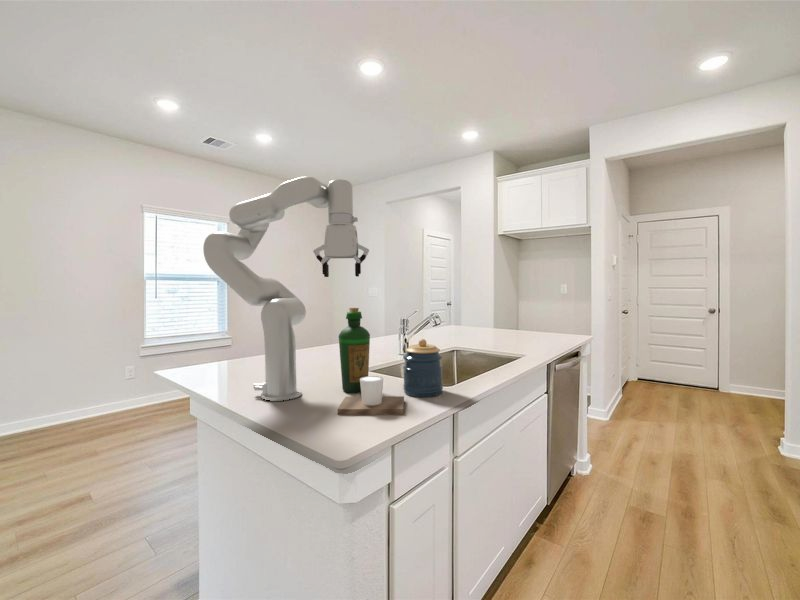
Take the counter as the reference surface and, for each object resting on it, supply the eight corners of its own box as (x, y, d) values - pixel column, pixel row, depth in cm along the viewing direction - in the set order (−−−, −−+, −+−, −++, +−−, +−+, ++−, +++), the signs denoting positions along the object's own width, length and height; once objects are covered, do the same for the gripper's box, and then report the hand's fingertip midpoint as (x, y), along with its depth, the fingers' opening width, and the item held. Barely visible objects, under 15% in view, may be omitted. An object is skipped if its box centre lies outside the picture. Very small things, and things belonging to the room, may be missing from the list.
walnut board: (337, 414, 102) (337, 409, 102) (345, 401, 114) (345, 396, 114) (403, 414, 101) (403, 409, 101) (404, 401, 113) (404, 396, 113)
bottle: (364, 395, 120) (362, 308, 119) (334, 393, 123) (332, 308, 122) (375, 386, 130) (374, 307, 129) (347, 385, 133) (346, 307, 132)
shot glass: (385, 399, 110) (384, 375, 110) (381, 406, 104) (381, 381, 103) (362, 398, 111) (362, 375, 111) (357, 405, 104) (357, 381, 104)
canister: (451, 393, 121) (450, 339, 120) (418, 400, 114) (417, 343, 113) (427, 385, 132) (426, 335, 131) (396, 390, 125) (395, 338, 124)
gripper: (370, 223, 119) (370, 276, 119) (316, 224, 119) (317, 277, 120) (367, 218, 111) (368, 275, 112) (309, 219, 112) (311, 276, 112)
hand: (341, 276), depth 116 cm, fingers open, 9 cm apart
